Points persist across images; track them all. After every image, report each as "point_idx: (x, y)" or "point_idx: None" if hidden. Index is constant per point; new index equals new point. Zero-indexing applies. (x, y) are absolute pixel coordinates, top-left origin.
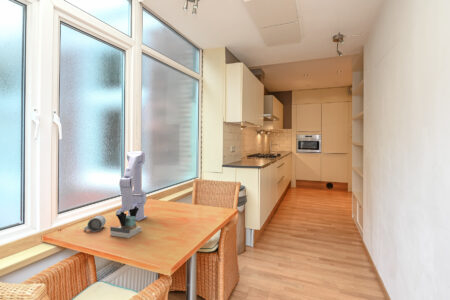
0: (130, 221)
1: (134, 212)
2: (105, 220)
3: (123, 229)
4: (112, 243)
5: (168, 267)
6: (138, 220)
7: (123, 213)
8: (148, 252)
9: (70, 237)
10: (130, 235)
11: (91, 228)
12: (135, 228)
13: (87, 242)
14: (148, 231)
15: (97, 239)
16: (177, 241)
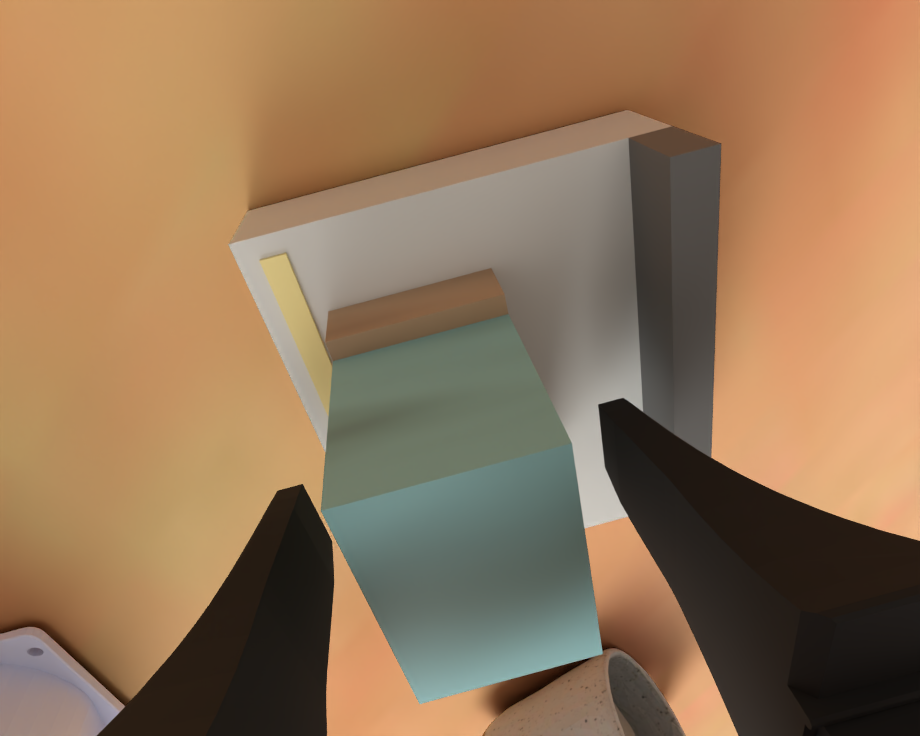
0: (538, 391)
1: (249, 706)
2: None
3: (711, 288)
4: (880, 167)
5: None
6: (47, 636)
7: (854, 701)
8: None
9: None
10: (588, 129)
11: (626, 713)
12: (391, 258)
13: (888, 467)
14: (136, 30)
15: (794, 461)
16: None
